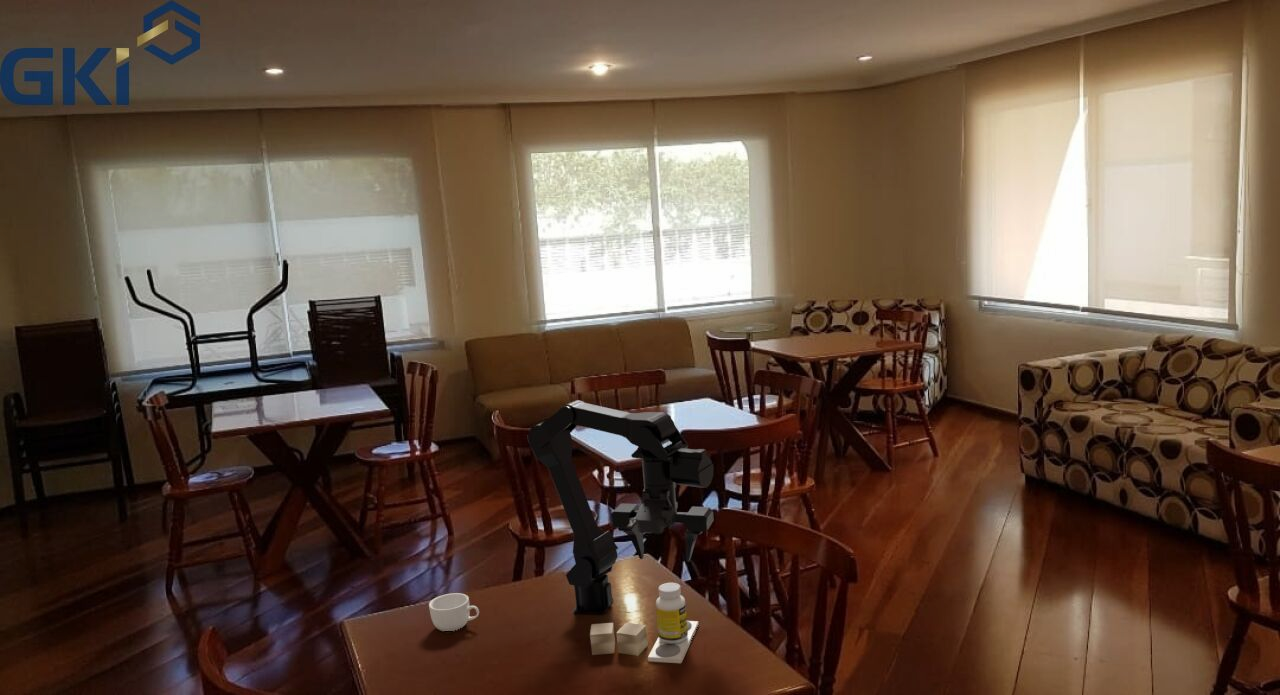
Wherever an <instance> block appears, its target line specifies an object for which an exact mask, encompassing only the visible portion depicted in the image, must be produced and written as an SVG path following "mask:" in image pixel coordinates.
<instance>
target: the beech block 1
mask: <svg viewBox="0 0 1280 695" xmlns="http://www.w3.org/2000/svg"><path fill="white" fill-rule="evenodd" d="M589 633H590V634H589V638H590V646H591V647H590V649H591V655H592V656H594V655H608V654H614V653H615V649H616V648H615V646H616V639H615V637H616V636H615V628H614V622H607V623H606V622H603V623H594V624H593V623H592V624H591V626H590V632H589Z"/></svg>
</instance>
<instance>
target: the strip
mask: <svg viewBox="0 0 1280 695" xmlns="http://www.w3.org/2000/svg"><path fill="white" fill-rule="evenodd" d="M698 625H699V621H697V620H695V621H694V620H687V629H688V636H687V638H686V639H685V640H684V641H682V642H679V643H665V642H662V641H661V640H660V639H659V636H658V637H657V639H656V641H655V643H654V645H653V647H652V648H651V650H650V652H649V653H648V656H647V661H648V662H653V663H654V662H655V663H669V664H671V663H672V664H682V663H683V660H684V658H685V656H686V654H687V652H688V650H689V647H690V645H691V643H692V641H693V639H694V637H695V634H696V632H697V630H698V628H699V626H698ZM697 627H698V628H697ZM696 629H697V630H696ZM693 636H694V637H693ZM692 638H693V639H692ZM691 640H692V641H691Z"/></svg>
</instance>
